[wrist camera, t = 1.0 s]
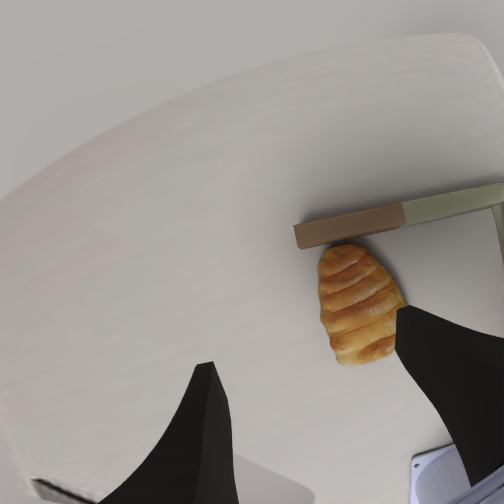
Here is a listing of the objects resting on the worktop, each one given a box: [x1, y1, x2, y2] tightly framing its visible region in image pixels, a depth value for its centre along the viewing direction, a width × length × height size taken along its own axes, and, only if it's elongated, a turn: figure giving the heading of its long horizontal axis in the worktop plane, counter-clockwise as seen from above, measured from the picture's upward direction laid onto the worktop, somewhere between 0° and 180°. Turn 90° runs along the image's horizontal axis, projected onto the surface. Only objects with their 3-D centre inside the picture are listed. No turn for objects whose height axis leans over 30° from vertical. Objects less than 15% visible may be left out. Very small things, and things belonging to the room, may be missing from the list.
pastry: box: [318, 243, 407, 366], centre depth 23 cm, size 9×7×4 cm
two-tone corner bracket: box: [293, 182, 504, 263], centre depth 21 cm, size 14×20×4 cm
